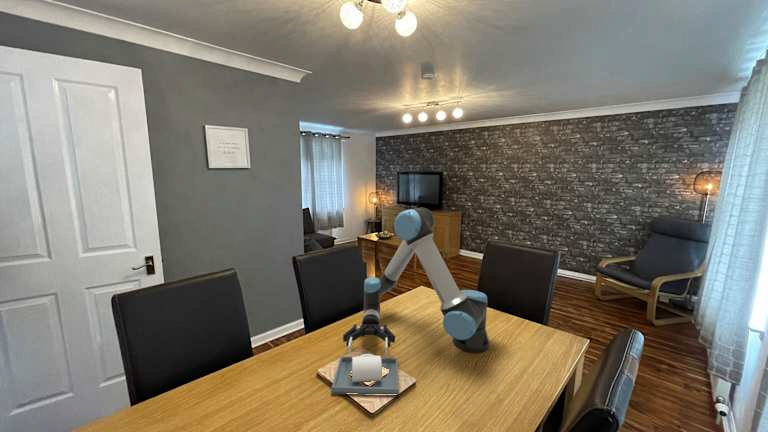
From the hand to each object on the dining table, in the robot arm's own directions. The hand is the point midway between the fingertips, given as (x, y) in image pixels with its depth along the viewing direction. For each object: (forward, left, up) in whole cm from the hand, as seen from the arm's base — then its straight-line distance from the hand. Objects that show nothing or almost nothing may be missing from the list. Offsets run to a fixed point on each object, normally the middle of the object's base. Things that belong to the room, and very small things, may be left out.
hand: (367, 350), depth 110 cm
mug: (0, +4, -8) cm, 9 cm away
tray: (0, +4, -8) cm, 9 cm away
